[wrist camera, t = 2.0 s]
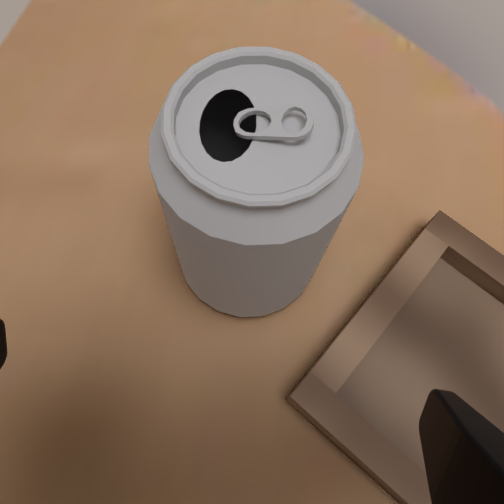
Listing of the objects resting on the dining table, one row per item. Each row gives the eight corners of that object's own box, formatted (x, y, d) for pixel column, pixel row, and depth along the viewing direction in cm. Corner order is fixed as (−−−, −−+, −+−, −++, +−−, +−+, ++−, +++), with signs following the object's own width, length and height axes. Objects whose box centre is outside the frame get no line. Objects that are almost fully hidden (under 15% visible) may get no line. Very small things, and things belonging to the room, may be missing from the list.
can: (191, 191, 26) (161, 14, 15) (316, 204, 26) (378, 38, 15) (170, 313, 23) (113, 206, 12) (310, 328, 23) (381, 235, 12)
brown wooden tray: (514, 608, 19) (545, 627, 17) (285, 399, 22) (290, 396, 20) (631, 376, 23) (666, 371, 21) (425, 225, 26) (440, 210, 24)
